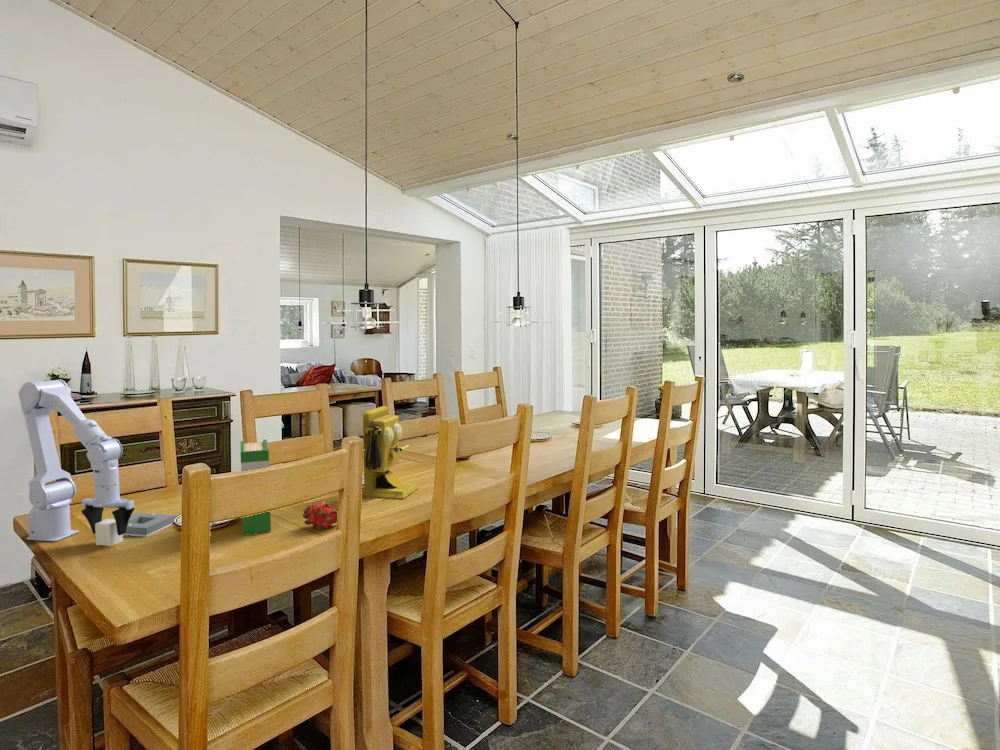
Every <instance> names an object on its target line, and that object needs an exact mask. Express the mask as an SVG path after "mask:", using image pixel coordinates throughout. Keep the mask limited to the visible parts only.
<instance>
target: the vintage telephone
mask: <svg viewBox="0 0 1000 750" xmlns="http://www.w3.org/2000/svg"><path fill="white" fill-rule="evenodd" d="M362 419H363V420H362V424H363V430H362V431H363V452H364V456H363V486H364V489H363V491H364V492H363V493H364V494H363V495H364V499H369V498H368V497H370V498H376V497H381V498H380V499H383V500H381V502H384V501H386V500H389V499H390V498H396V499H395V500H404V499H406V498H407V497H408V496H410V495H411V494H413V493H414V492H415V491H417V490H418V489H419V488H420V486H419V485H417V484H416V483H413V482H412V483H411V482H402V481H401V479H399V477H398V476H397V474H396V473H394V472H393V471H390V469H391V468H393V467H395V466H396V465H399V464H400V452H403V451H405V450H407V449H409V448H410V444H407V445H405V446H404V447H403V446H402V447H401V446H400V441H399V440H400V439H401V438H402V436H403V435H402V434H403V427H402V426H401V425H400V424H399V421H400V420H399V416H398V415H389V408H388V406H386V405H382V406H378V407H376V408H372V409H369V410H366V411H363V413H362ZM364 449H365V451H364ZM416 489H417V490H416ZM412 492H413V493H412ZM409 494H410V495H409ZM405 497H406V498H405Z"/></svg>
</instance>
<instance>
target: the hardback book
mask: <svg viewBox="0 0 1000 750" xmlns="http://www.w3.org/2000/svg"><path fill="white" fill-rule="evenodd" d="M239 451H240V473H241V472H242V471H248V470H255V469H261V468H266V467H269V468H270V456H269V455H270V454H269V452H270V451H269V447H268V441H267V439H263V440H262V441H261V442H246V443H245V442H244V440H240V450H239ZM271 517H272V516H271V511H270V512H265V513H261V514H257V515H253V516H249V517H244V518H243V517H242V536H247V535H246V534H251V535H255V534H254V533H259V534H262V533H261V532H267V533H269V532H268V531H271V532H272V529H271V528H272V527H271V526H272V524H271V522H272V521H271V519H272V518H271Z"/></svg>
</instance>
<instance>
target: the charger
mask: <svg viewBox="0 0 1000 750" xmlns="http://www.w3.org/2000/svg"><path fill="white" fill-rule="evenodd" d="M95 532H96V534H95V545H96V546H98V545H105V546H104V547H112V546H111V545H113V546H115V545H116V543H117V544H118V542H119V543H121V542H123V541H124V535H123V534H122V535H118V533H117V526H116V521H115V518H106V519H104V520H102V521H101V522H99V523H96V524H95ZM114 544H115V545H114ZM106 545H107V546H106Z"/></svg>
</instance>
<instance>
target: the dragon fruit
mask: <svg viewBox="0 0 1000 750" xmlns="http://www.w3.org/2000/svg"><path fill="white" fill-rule="evenodd" d="M337 511H338V507H335V506H334V505H333V503H330V502H329V501H327V502H326V503H325V502H324V501H323V500H321V501H318V502H312V503H311V504H309V505H307V508H305V509H303V514H302V518H303V519H304V524H305V525H306V526H309V525H310V526H311V525H312V526H313V529H317V530H321V529H322V528H325V529H326V528H328V529H333V528H335V527H337V525H334V524H336V523H338V522H337ZM305 519H306V520H305Z"/></svg>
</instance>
